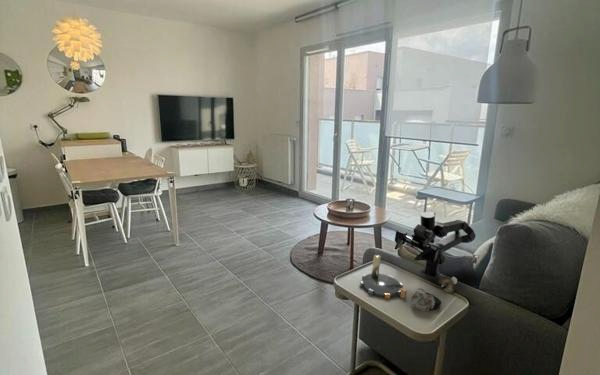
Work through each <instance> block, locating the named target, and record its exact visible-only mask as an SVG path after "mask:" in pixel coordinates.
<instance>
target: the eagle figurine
mask: <svg viewBox="0 0 600 375" xmlns="http://www.w3.org/2000/svg"><path fill="white" fill-rule="evenodd" d="M440 273H441V272H440ZM441 276H442V277H441V278H439V280H438V282H437V283H438V284H439V285H441V286H440V287H441V288H444V289H443V290H442V292H444V293H446V294H451V295H452V294H454V292H455V289H456V288H455V285H456V284H457V283H458V279H457V277H455V276H452V277H450V276H448V275H444V274H443V273H441Z"/></svg>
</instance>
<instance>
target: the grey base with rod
mask: <svg viewBox="0 0 600 375" xmlns="http://www.w3.org/2000/svg"><path fill="white" fill-rule="evenodd" d="M372 259H373V262H372V265H371V266H372V268H371V273H368V274H366V273H364V274H362V275H361V276H362V277H361V280H360V281H359V286H360V287H361V288H363V289H364V291H366V292H367V294H369V295H371V296H376V297H380V298H383V299H387V300H388V299H390V298H394V297H400V295H401V290H400V288H402V289H404V284H403V283H402V282H399V281H398V280H397V279H396V278H395V277H394V276H393V275H391V274H389V275H387V274H384V273H380V267H381V260H382V256H381V255H379V254H374V255H373V258H372Z"/></svg>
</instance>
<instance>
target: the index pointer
mask: <svg viewBox="0 0 600 375" xmlns="http://www.w3.org/2000/svg"><path fill="white" fill-rule="evenodd" d="M400 290H401V295H400V296H399V297H400V298H402V299H406V297H407V291H408V289H405V288H400Z"/></svg>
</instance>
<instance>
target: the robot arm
mask: <svg viewBox="0 0 600 375" xmlns="http://www.w3.org/2000/svg"><path fill="white" fill-rule="evenodd" d="M412 230H413V234H412V235H411V237H409V236H408V232H406V231H404V230H402V229H397V230H396V231H395V237H394V242H395V243H396V244H395V246H394V250H398V249H400V248H402V247H403V246H404V245H405V244H406V243H407V244H409V245H410V247H412V248H413V249H415V250H417V251H418V252H420V253H419V254H416V256H415V257H414V261H425V263H424V264H425V265H424V267H423V268H422V269H421V272H422V273H423V274H427V275H429V276H432V277H436V276H438V275H439V274H440V273H441V271H440V270H439V265H443V264H444V262H445V260H446V257H445V256H444V253H445V252H446V251H448V250H450V249H452V248H455V247H456V246H458V245H459V244H469V243H472V242H473V241H474V240H475V239H476V233H475V231H474V229H472V227H470V225H469V224H468V222H466V221H464V220H461V219H454V220H453V221H448V222H439V221H436V212H433V211H423V212H422V213H420V224H417V225H415V227H414V228H413V229H412ZM452 232H453V233H454V234H452V235H450V236H448V234H449V233H452ZM447 236H448V237H447ZM436 237H438V238H440V239H442V238H443V239H442V240H440V241H438V242H437V241H436V240H435V238H436ZM444 237H446V238H444Z"/></svg>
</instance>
